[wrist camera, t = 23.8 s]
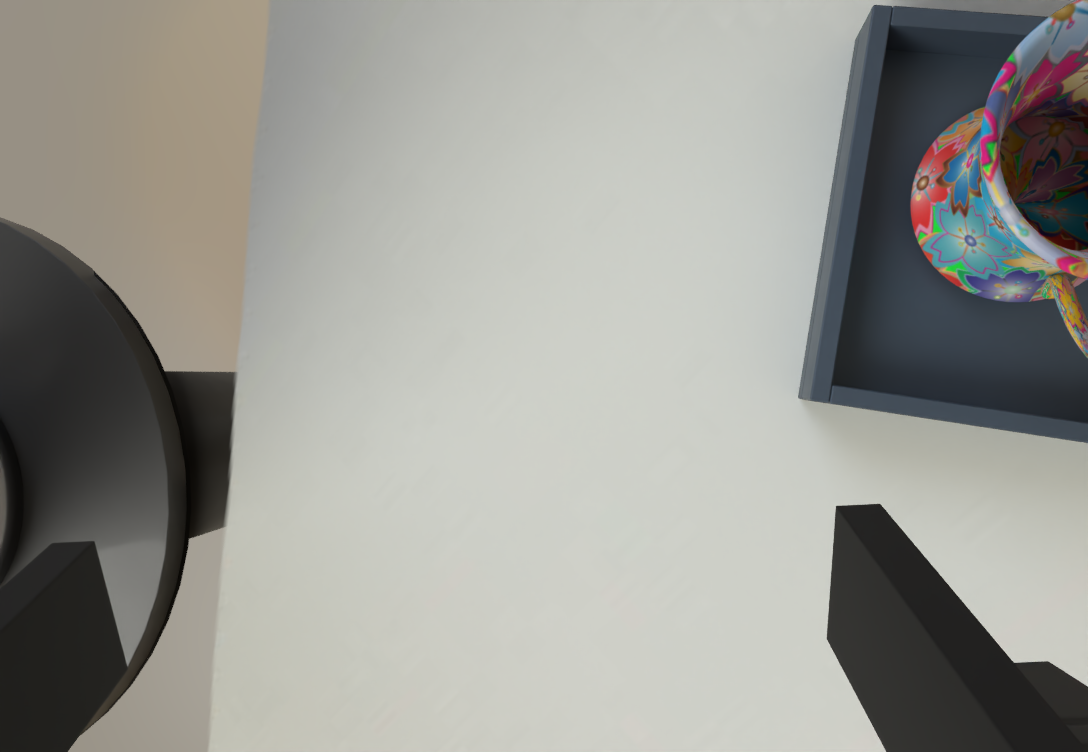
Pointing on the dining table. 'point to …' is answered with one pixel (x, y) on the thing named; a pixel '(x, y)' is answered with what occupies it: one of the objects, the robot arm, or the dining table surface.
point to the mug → (1017, 179)
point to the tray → (902, 267)
